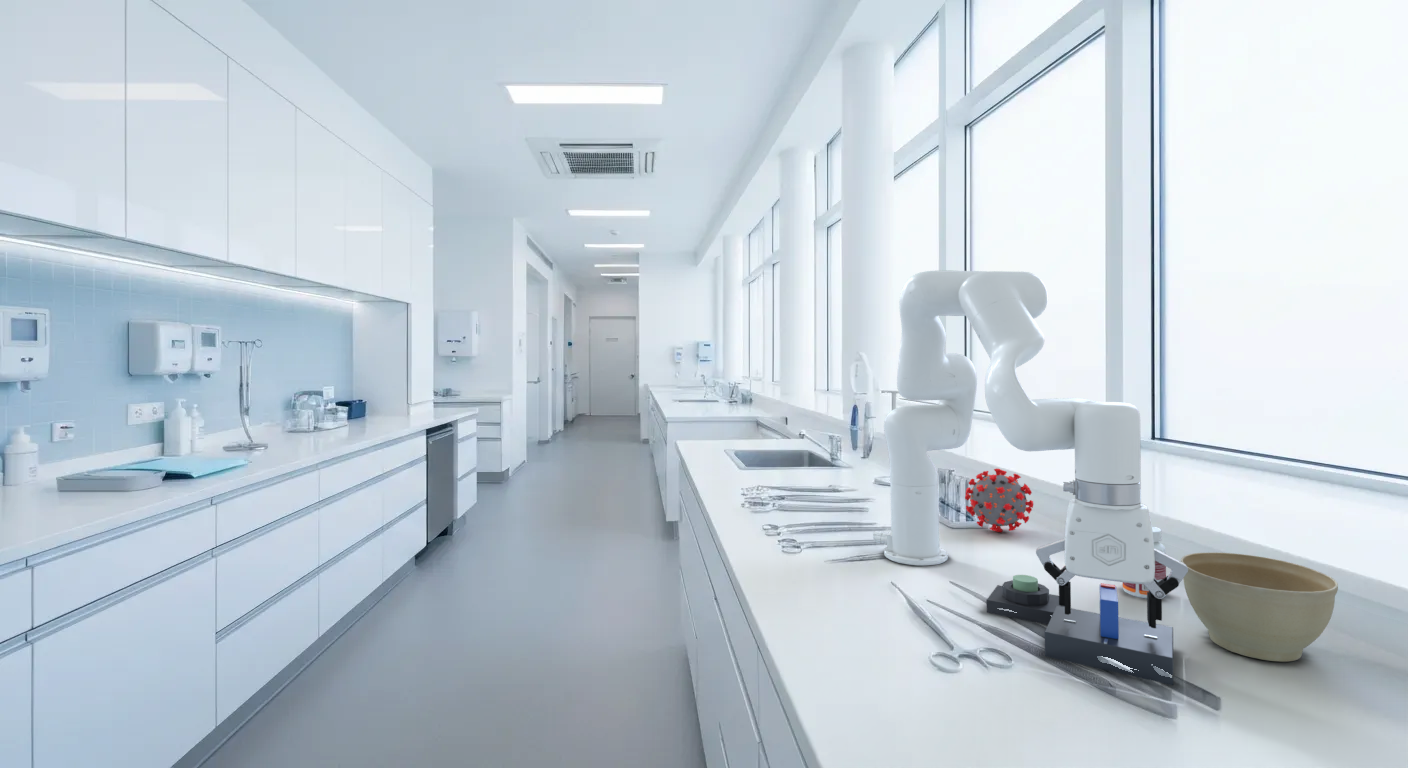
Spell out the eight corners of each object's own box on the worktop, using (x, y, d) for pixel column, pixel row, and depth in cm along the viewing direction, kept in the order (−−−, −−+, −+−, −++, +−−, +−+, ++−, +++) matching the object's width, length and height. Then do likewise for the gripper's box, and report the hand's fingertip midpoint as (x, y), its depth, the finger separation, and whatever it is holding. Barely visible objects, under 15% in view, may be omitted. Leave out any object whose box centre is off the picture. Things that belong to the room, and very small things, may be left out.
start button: (1010, 590, 100) (1010, 579, 100) (1015, 583, 103) (1015, 573, 103) (1035, 594, 98) (1035, 583, 98) (1039, 587, 101) (1039, 577, 101)
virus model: (974, 540, 141) (973, 474, 141) (958, 523, 156) (957, 463, 155) (1043, 541, 139) (1042, 474, 138) (1020, 524, 153) (1019, 463, 153)
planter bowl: (1216, 669, 80) (1216, 585, 80) (1161, 619, 96) (1160, 549, 96) (1372, 682, 76) (1372, 594, 76) (1288, 628, 92) (1287, 555, 91)
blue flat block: (1118, 639, 82) (1118, 600, 82) (1100, 636, 83) (1100, 597, 83) (1116, 621, 87) (1116, 584, 87) (1099, 618, 88) (1099, 582, 88)
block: (986, 613, 100) (986, 588, 100) (997, 597, 107) (997, 574, 107) (1057, 627, 94) (1057, 601, 94) (1064, 610, 101) (1064, 585, 101)
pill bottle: (1172, 594, 106) (1172, 528, 105) (1157, 603, 102) (1156, 534, 102) (1131, 584, 111) (1131, 521, 111) (1115, 592, 107) (1114, 527, 107)
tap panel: (1044, 656, 85) (1044, 630, 85) (1056, 628, 94) (1056, 604, 94) (1173, 686, 77) (1172, 656, 77) (1173, 652, 85) (1172, 625, 85)
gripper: (1033, 493, 86) (1035, 615, 86) (1191, 504, 77) (1192, 641, 77) (1036, 483, 92) (1038, 597, 93) (1183, 493, 83) (1183, 619, 84)
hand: (1108, 617), depth 85 cm, fingers open, 9 cm apart
